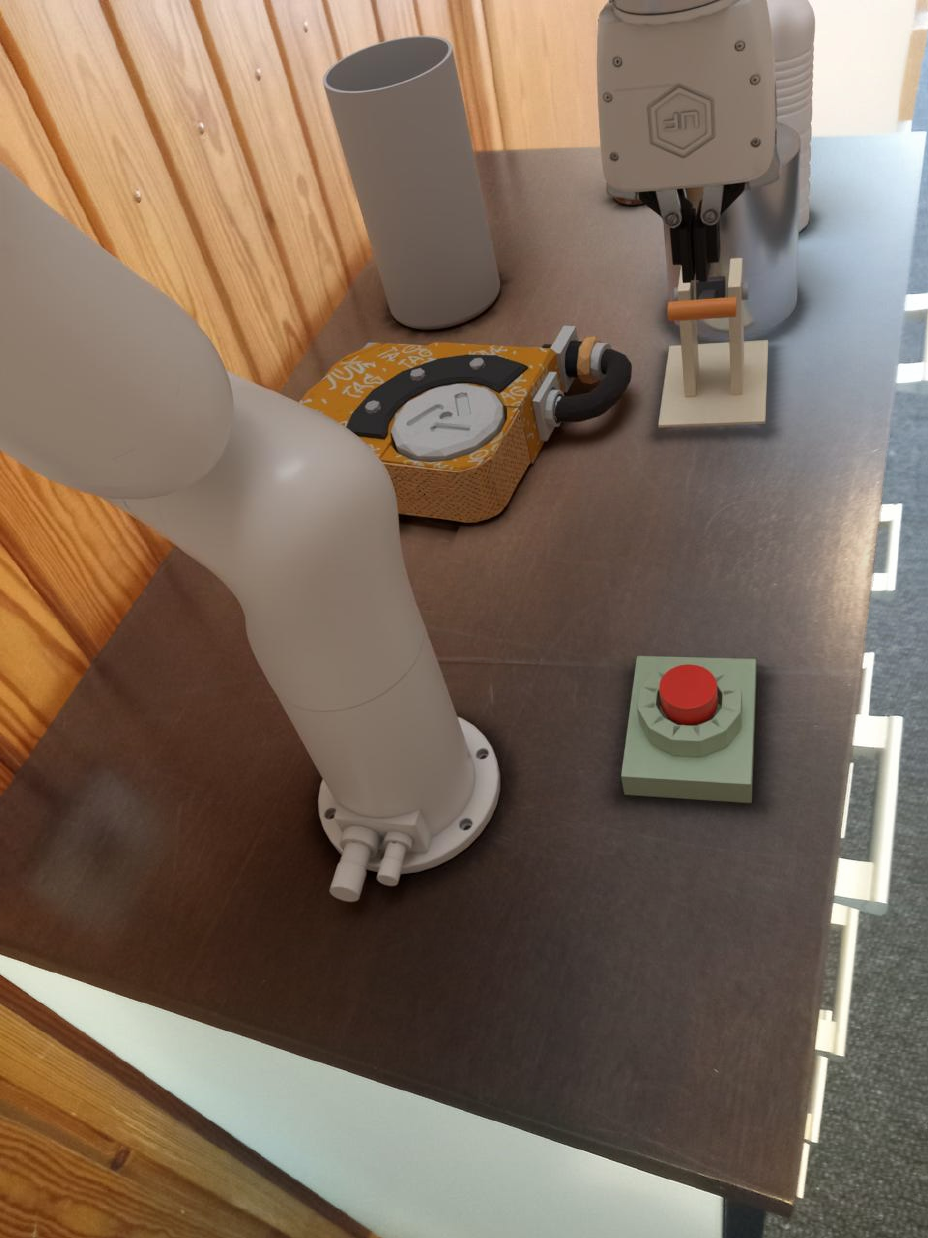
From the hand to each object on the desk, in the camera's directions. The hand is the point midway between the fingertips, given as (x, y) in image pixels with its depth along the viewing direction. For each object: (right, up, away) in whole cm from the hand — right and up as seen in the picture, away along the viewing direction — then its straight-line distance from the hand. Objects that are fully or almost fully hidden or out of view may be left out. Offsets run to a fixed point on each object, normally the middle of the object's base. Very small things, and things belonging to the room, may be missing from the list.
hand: (697, 270), depth 69 cm
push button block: (0, -31, 0) cm, 31 cm away
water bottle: (+18, +18, +40) cm, 47 cm away
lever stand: (+7, -3, +24) cm, 25 cm away
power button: (-1, -29, -3) cm, 29 cm away
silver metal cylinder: (+11, +7, +32) cm, 34 cm away
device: (-16, -8, +26) cm, 32 cm away
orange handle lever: (+4, +1, +13) cm, 14 cm away
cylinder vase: (-18, +12, +45) cm, 50 cm away
